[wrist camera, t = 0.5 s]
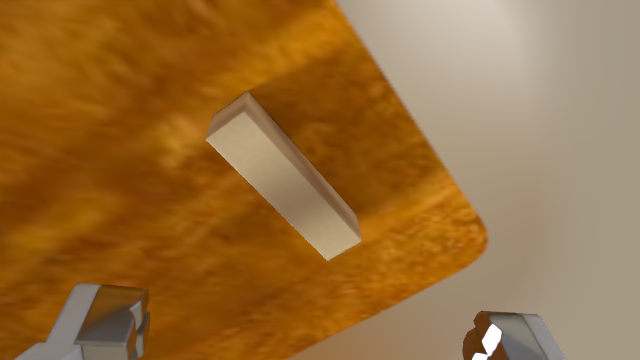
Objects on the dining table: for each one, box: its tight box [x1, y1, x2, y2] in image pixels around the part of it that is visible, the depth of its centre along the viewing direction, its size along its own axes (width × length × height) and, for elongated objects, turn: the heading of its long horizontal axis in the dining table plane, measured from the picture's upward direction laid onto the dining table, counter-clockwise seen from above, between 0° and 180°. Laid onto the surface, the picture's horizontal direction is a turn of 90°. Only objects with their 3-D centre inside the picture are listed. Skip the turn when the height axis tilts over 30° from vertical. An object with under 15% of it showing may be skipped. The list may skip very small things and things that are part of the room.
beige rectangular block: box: [206, 91, 362, 261], centre depth 25 cm, size 10×2×2 cm, turn 36°
